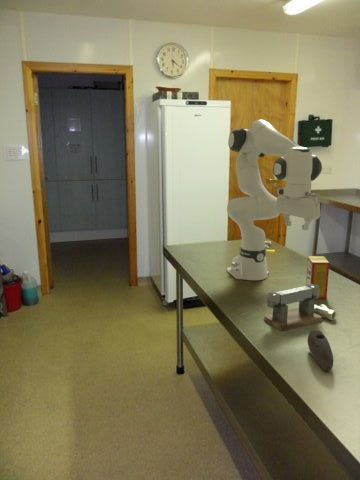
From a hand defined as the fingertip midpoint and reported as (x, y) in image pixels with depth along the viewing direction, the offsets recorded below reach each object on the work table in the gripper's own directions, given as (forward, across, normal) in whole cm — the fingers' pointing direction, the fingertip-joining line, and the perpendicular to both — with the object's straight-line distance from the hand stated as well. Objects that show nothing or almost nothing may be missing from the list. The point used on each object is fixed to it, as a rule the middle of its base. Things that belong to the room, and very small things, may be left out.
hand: (296, 227), depth 143 cm
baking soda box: (+31, +3, -15) cm, 35 cm away
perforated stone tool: (+32, -37, +21) cm, 53 cm away
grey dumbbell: (+24, -12, +10) cm, 28 cm away
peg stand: (+31, -12, +10) cm, 35 cm away
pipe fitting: (+32, -14, -4) cm, 35 cm away
